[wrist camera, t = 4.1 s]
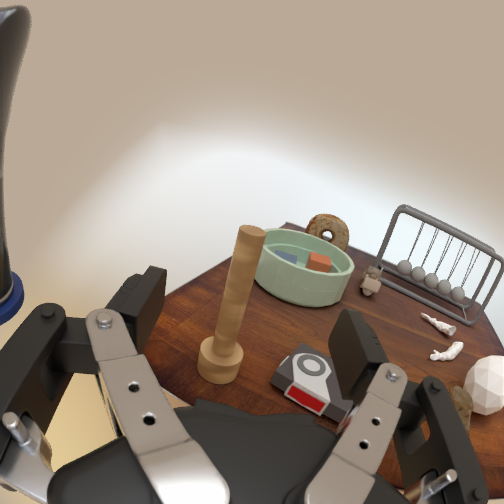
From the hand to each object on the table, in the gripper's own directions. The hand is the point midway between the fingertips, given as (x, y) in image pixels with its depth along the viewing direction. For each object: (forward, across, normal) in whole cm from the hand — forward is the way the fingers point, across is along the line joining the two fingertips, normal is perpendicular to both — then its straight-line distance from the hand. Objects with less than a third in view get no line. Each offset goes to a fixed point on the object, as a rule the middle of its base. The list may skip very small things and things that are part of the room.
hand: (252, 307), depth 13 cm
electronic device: (+9, -13, +13) cm, 21 cm away
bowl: (+36, -11, +16) cm, 41 cm away
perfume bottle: (+6, -39, +17) cm, 43 cm away
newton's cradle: (+42, -45, +16) cm, 64 cm away
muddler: (+11, 0, +16) cm, 20 cm away
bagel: (+50, -19, +16) cm, 56 cm away
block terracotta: (+37, -15, +15) cm, 43 cm away
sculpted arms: (+23, -39, +17) cm, 48 cm away
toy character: (+38, -27, +16) cm, 49 cm away
